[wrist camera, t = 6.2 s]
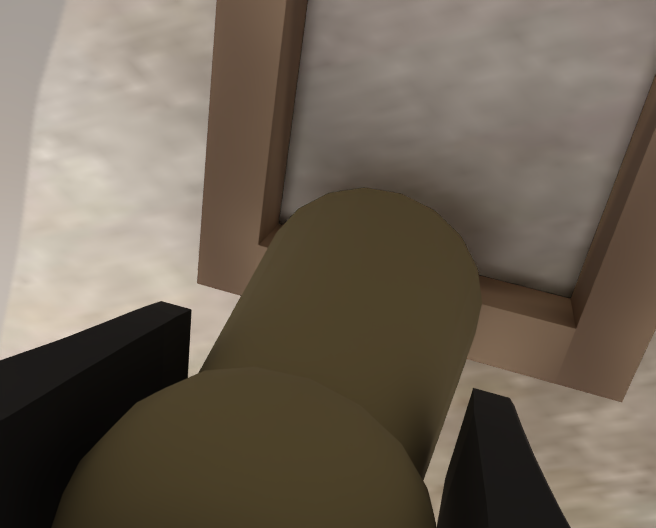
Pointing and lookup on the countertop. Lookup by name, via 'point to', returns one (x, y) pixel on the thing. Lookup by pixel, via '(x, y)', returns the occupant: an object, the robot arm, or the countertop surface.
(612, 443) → the countertop surface
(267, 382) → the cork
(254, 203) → the socket block
